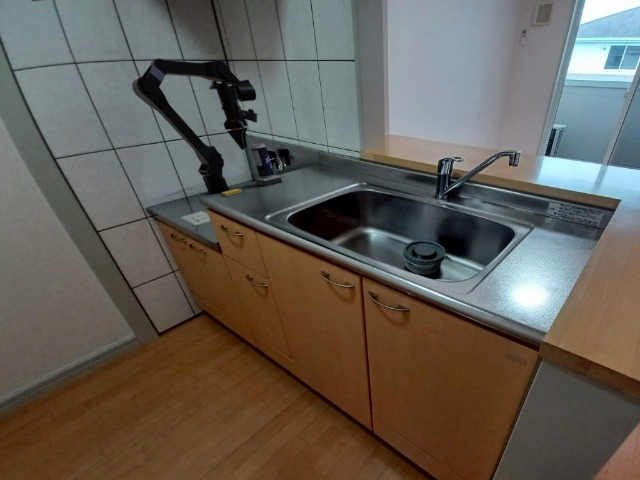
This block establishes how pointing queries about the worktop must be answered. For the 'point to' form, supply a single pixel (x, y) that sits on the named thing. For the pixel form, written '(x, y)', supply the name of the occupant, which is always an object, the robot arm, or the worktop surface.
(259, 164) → the beverage can
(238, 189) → the sponge
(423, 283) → the worktop surface
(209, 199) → the worktop surface
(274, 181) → the kitchen scale
